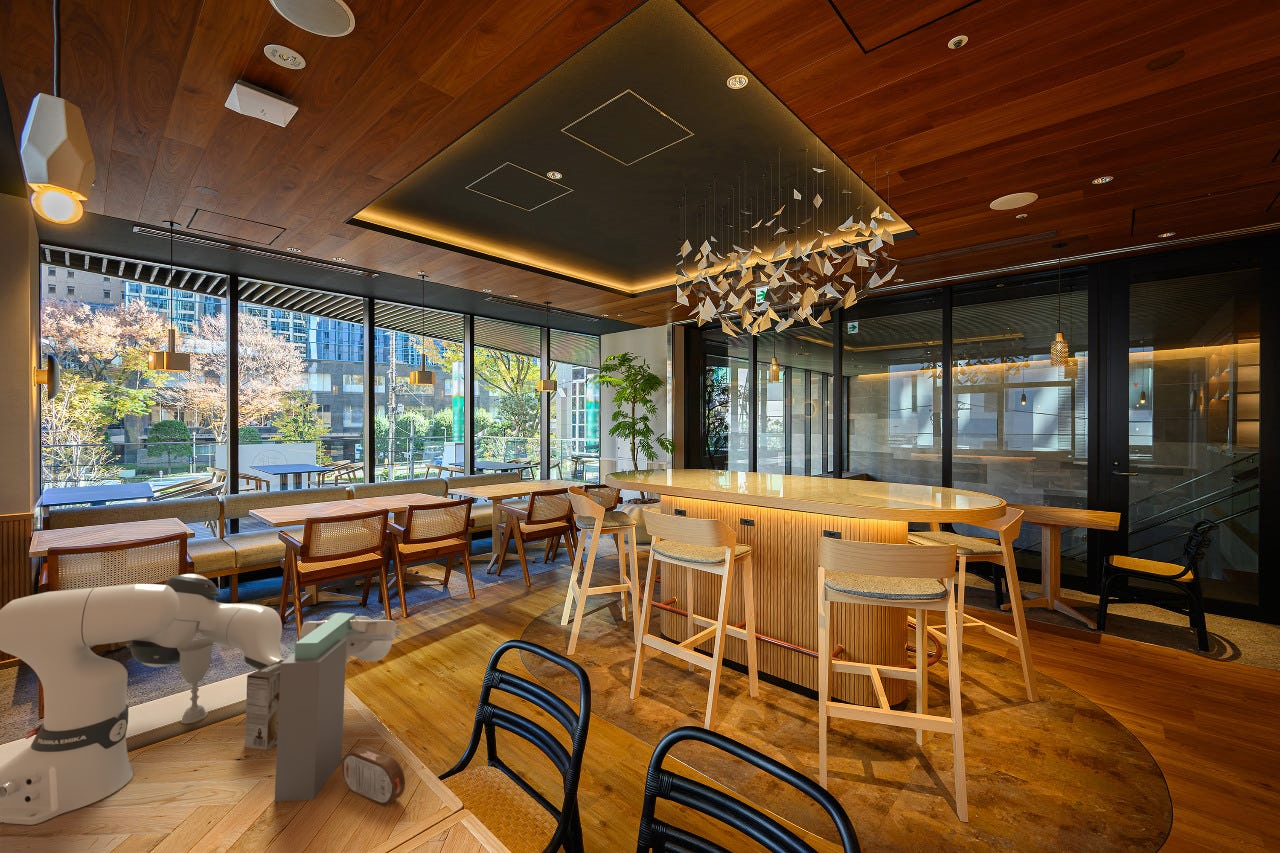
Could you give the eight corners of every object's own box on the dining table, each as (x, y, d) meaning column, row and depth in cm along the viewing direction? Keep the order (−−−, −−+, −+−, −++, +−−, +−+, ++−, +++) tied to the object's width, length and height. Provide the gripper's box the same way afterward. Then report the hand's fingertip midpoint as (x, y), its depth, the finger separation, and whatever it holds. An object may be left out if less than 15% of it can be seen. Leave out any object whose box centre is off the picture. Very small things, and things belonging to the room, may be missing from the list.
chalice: (194, 726, 124) (196, 651, 124) (166, 725, 124) (168, 650, 124) (219, 709, 132) (221, 639, 132) (193, 708, 132) (195, 638, 132)
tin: (405, 803, 99) (407, 758, 100) (391, 814, 96) (393, 767, 97) (352, 780, 106) (354, 738, 106) (338, 790, 103) (339, 746, 103)
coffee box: (279, 726, 125) (282, 658, 126) (301, 729, 124) (304, 661, 125) (242, 747, 116) (246, 674, 117) (266, 751, 115) (270, 677, 116)
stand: (274, 802, 99) (280, 663, 100) (306, 763, 111) (312, 640, 112) (313, 799, 100) (319, 662, 101) (341, 761, 112) (346, 639, 113)
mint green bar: (294, 658, 102) (295, 643, 102) (336, 627, 120) (336, 614, 120) (316, 658, 103) (317, 642, 103) (354, 626, 120) (355, 613, 120)
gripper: (400, 648, 128) (384, 637, 116) (312, 650, 125) (285, 640, 114) (405, 621, 131) (390, 608, 119) (319, 623, 129) (294, 610, 117)
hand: (338, 624), depth 116 cm, fingers closed on mint green bar, 4 cm apart
